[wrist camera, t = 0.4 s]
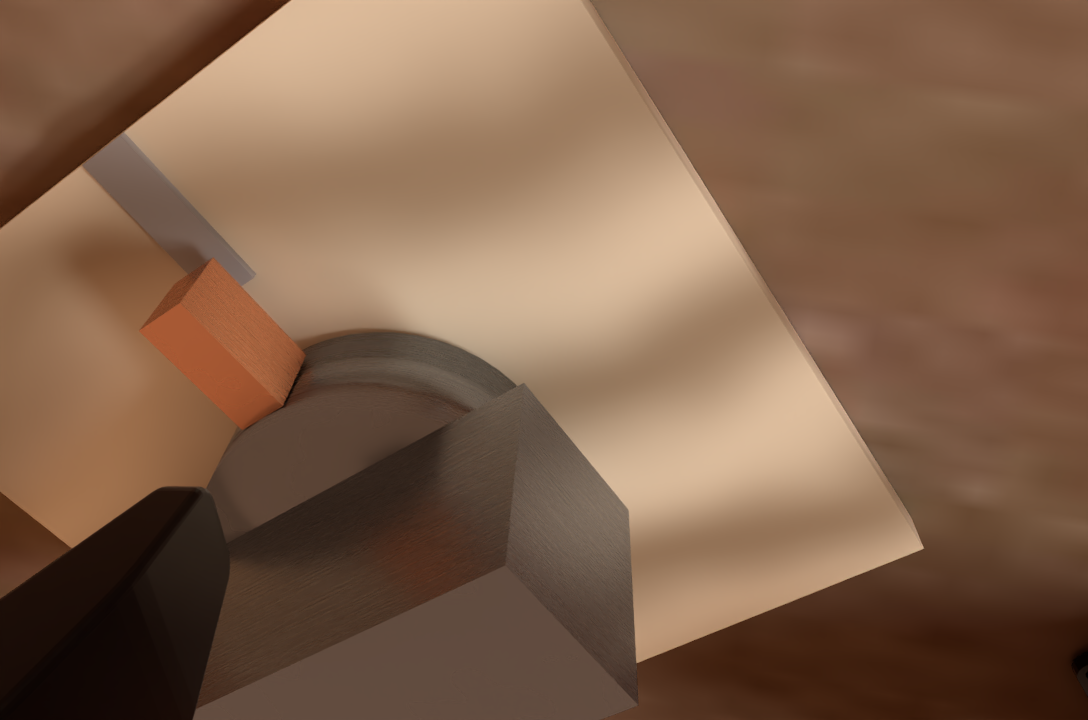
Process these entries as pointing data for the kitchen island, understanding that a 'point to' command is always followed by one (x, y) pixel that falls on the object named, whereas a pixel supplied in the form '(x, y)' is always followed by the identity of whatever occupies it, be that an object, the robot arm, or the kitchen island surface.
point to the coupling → (398, 530)
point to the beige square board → (445, 289)
